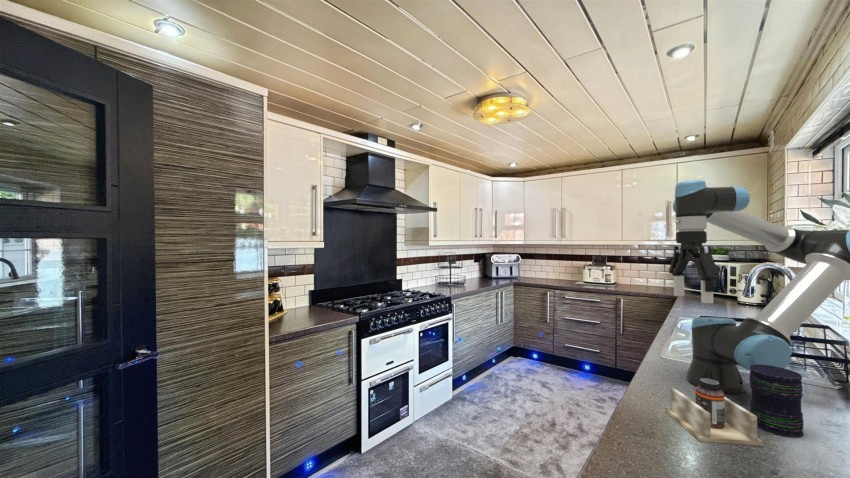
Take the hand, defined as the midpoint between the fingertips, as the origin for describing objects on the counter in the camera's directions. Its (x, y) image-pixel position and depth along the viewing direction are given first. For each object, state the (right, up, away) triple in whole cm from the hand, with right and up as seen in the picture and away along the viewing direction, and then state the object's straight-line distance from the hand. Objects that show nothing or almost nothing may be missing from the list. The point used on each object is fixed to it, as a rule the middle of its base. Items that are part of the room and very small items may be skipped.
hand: (692, 299), depth 105 cm
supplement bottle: (-7, -31, -15) cm, 35 cm away
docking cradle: (-7, -32, -15) cm, 35 cm away
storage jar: (+10, -32, -15) cm, 36 cm away
